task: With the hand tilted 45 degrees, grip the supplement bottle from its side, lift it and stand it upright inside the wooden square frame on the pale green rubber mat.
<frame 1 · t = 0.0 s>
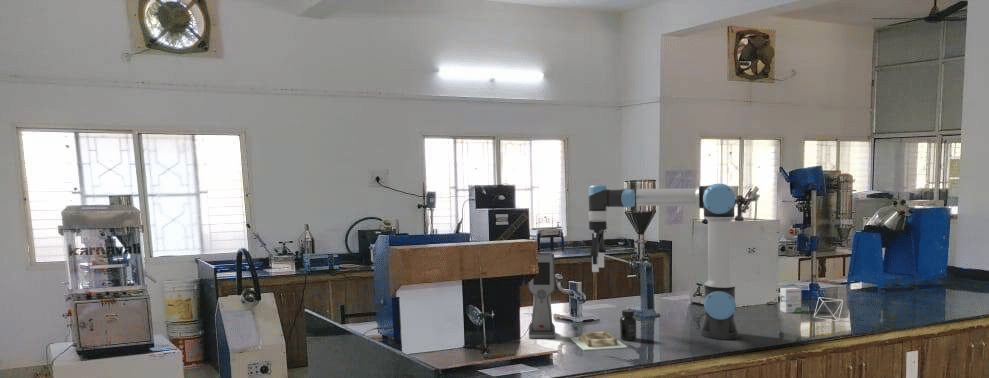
hand: (598, 269, 258), 28 cm above the lab bench, tool pointing down, fingers open, 13 cm apart
thermal camera: (542, 335, 257), on the lab bench
supplement bottle: (628, 339, 249), on the lab bench
wooden square frame: (597, 339, 243), on the mat
mat: (597, 343, 243), on the lab bench
ink box: (790, 312, 296), on the lab bench
geometric polyhedron: (828, 318, 282), on the lab bench
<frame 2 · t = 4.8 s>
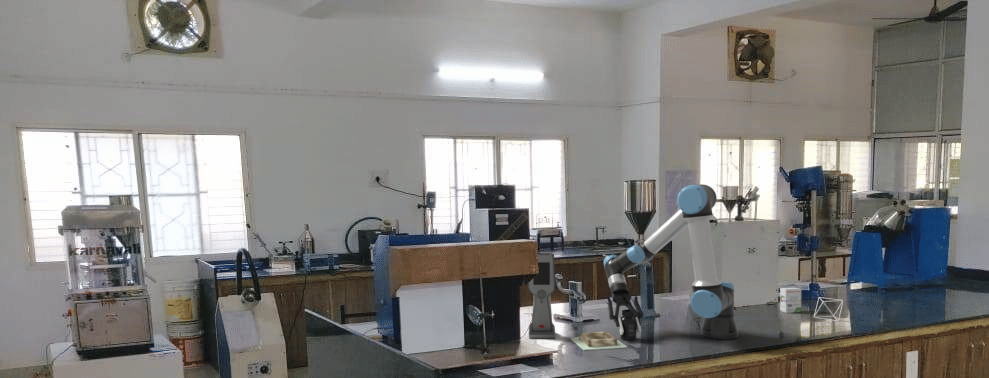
hand: (630, 332, 246), 3 cm above the lab bench, tool tilted 45°, fingers closed on supplement bottle, 7 cm apart
supplement bottle: (628, 339, 249), on the lab bench, touching gripper
everything else where it was.
when the fingers open (5 cm above the lab bench, at t = 10.0 s): supplement bottle drops 2 cm, resting on mat.
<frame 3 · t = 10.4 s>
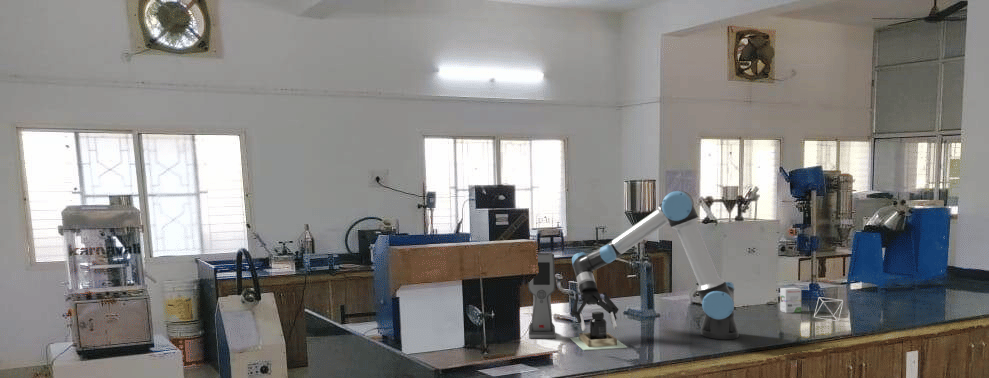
hand: (599, 328, 241), 7 cm above the lab bench, tool tilted 45°, fingers open, 13 cm apart
supplement bottle: (598, 342, 244), resting on mat
everything else where it was.
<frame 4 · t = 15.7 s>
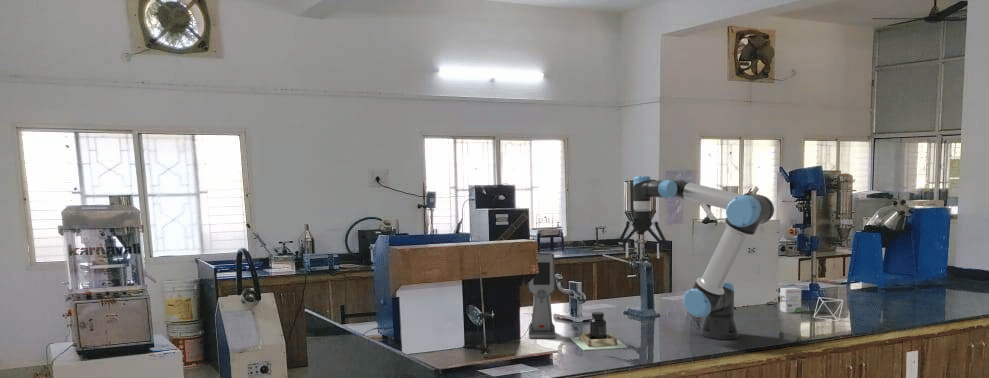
hand: (642, 257, 266), 32 cm above the lab bench, tool pointing down, fingers open, 13 cm apart
nothing on the lab bench moved.
at the end: supplement bottle 0.2 cm from the wooden square frame (horizontally); supplement bottle tilted 0°; supplement bottle resting on mat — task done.
